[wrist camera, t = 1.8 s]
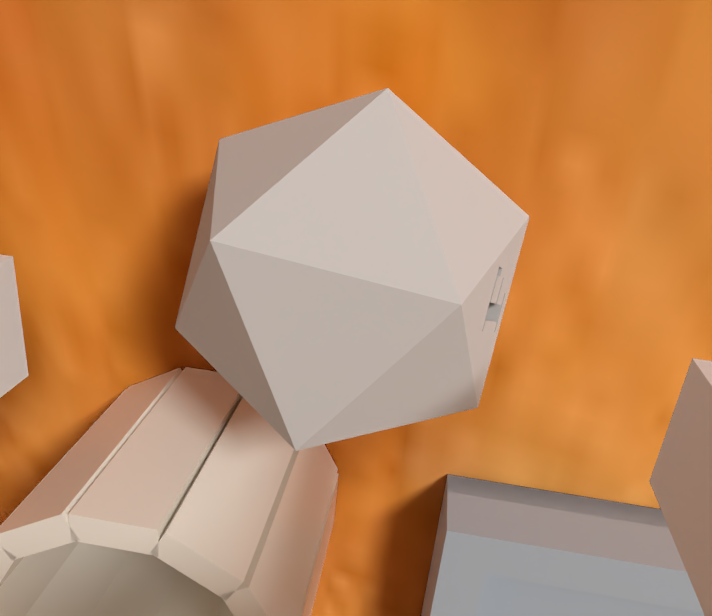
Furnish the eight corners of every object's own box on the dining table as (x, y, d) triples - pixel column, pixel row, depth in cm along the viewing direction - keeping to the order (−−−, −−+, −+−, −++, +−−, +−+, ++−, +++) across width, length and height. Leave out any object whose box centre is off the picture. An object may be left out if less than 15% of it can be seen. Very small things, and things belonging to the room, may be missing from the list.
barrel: (108, 548, 28) (-13, 728, 21) (91, 352, 24) (-65, 490, 17) (326, 588, 27) (281, 791, 20) (347, 391, 23) (299, 554, 16)
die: (362, 391, 24) (559, 512, 15) (115, 356, 20) (194, 496, 11) (419, 169, 24) (658, 162, 15) (179, 81, 19) (315, -2, 10)
